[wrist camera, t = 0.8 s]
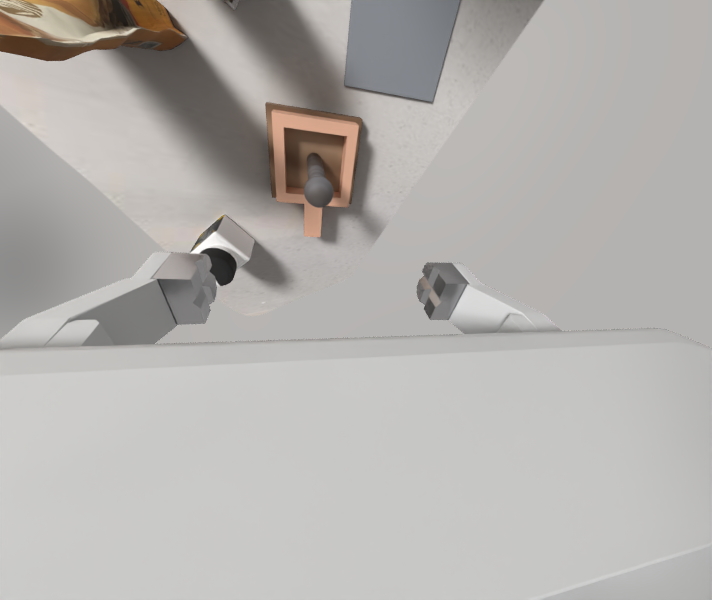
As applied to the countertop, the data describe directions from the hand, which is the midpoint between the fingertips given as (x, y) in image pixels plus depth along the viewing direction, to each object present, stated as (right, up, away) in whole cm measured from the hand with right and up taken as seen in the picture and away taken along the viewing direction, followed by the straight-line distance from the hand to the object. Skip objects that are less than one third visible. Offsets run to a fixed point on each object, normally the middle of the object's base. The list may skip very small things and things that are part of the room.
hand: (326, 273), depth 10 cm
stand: (-6, +23, +33) cm, 40 cm away
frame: (-6, +19, +33) cm, 39 cm away
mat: (+7, +36, +24) cm, 43 cm away
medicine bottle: (-24, +11, +40) cm, 48 cm away
